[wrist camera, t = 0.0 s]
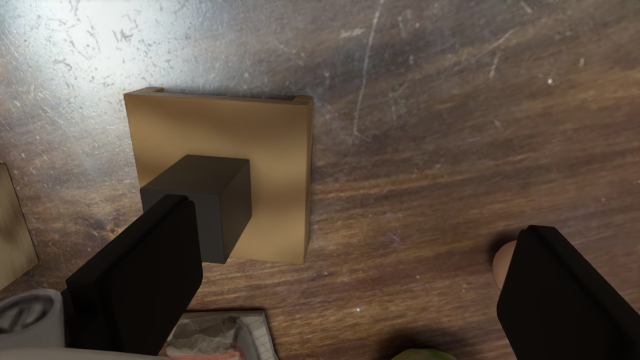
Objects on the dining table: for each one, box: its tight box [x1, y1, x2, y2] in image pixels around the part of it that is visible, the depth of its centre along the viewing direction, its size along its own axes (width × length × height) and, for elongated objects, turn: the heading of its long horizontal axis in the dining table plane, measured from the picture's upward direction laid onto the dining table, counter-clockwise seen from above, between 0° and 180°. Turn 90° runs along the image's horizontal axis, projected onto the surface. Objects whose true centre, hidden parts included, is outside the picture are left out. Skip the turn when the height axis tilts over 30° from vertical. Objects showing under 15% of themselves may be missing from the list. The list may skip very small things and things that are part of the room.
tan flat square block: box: [124, 87, 314, 265], centre depth 26 cm, size 12×12×3 cm
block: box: [140, 154, 252, 264], centre depth 22 cm, size 4×4×6 cm
